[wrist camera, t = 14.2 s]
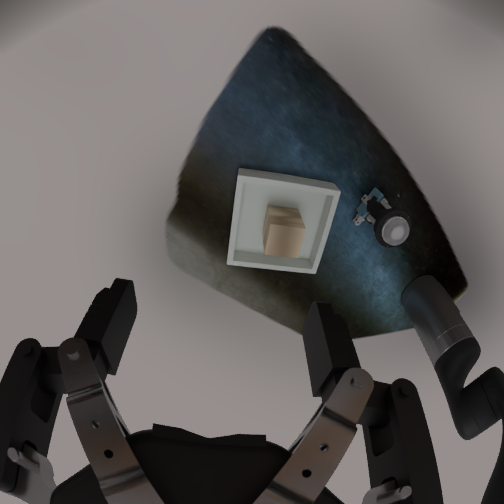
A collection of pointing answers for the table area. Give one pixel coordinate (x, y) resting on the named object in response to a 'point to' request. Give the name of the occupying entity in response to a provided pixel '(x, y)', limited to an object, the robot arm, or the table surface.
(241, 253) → the tray
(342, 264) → the table surface
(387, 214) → the push button
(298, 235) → the pine block
